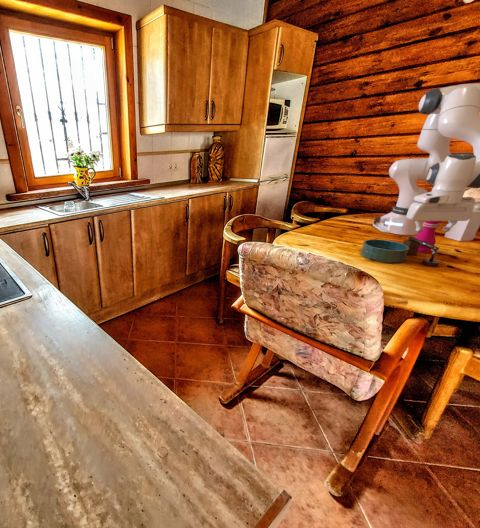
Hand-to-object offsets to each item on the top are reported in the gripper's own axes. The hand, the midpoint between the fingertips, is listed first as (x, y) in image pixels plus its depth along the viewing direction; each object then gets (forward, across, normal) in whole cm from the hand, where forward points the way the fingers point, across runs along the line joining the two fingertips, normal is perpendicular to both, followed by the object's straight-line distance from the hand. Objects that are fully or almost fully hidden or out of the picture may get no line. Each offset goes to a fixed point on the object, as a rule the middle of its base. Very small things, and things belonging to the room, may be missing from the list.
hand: (432, 231), depth 115 cm
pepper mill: (+13, -8, -12) cm, 20 cm away
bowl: (+13, +13, -3) cm, 19 cm away
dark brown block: (+13, 0, -8) cm, 15 cm away
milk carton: (+13, -37, -31) cm, 50 cm away
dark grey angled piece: (+13, 0, -2) cm, 13 cm away
